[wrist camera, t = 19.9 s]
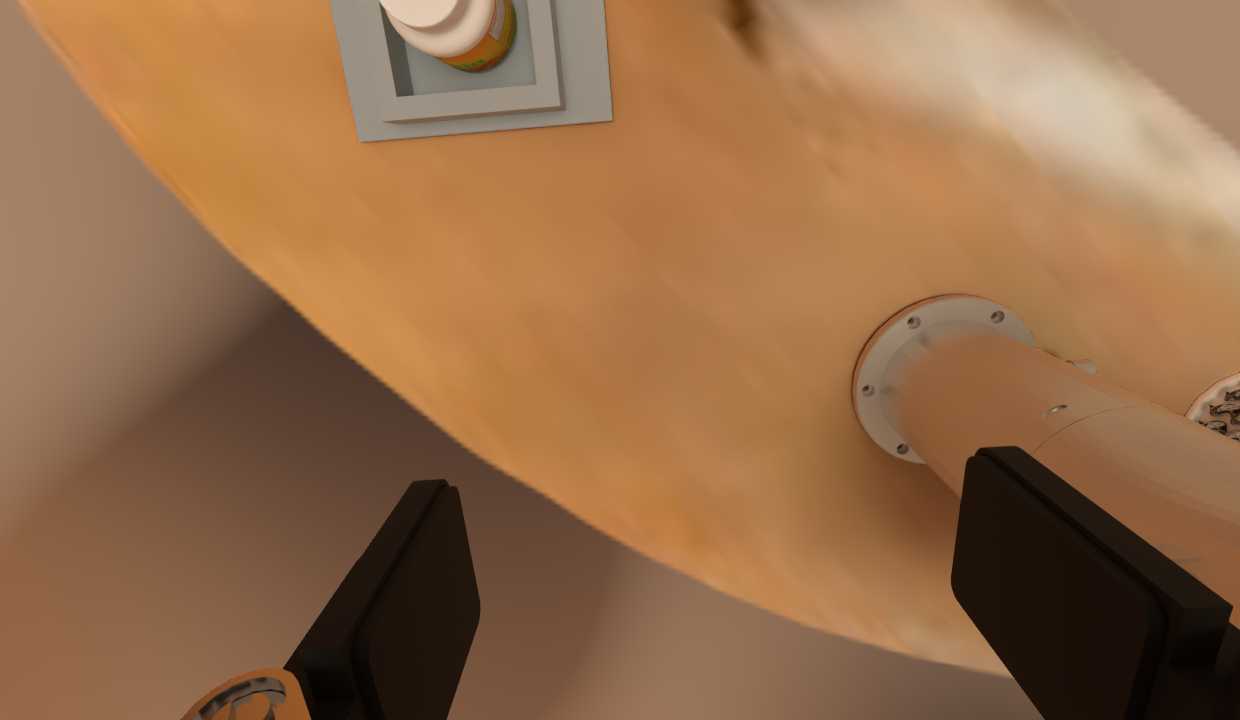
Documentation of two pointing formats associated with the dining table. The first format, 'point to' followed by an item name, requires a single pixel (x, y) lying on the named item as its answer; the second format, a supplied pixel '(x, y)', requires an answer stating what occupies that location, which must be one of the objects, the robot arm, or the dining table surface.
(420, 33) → the supplement bottle
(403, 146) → the dining table surface
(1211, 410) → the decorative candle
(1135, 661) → the robot arm
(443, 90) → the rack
